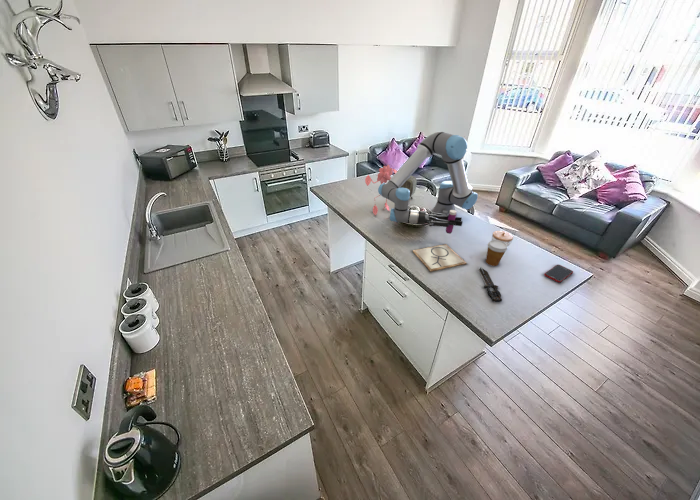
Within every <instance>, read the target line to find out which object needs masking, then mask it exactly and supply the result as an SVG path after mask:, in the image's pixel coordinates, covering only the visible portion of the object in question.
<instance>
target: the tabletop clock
mask: <svg viewBox="0 0 700 500" xmlns="http://www.w3.org/2000/svg"><path fill="white" fill-rule="evenodd" d="M417 181H418V180H417V177H415V176H413V175H411V176H410V177H409V178H408V179H407V180H406V182H405V183H404V184H403V185H402V186H401V187H400V188H407V189H409V191H410V199H411V200H413V199H414V197H413V195H414V194H415V193H416V190H417V183H418V182H417Z"/></svg>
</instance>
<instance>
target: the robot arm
mask: <svg viewBox="0 0 700 500" xmlns="http://www.w3.org/2000/svg"><path fill="white" fill-rule="evenodd" d="M467 149H468V141H467V140H466V138H465V137H463V136H461V135H459V134H453V133H449V132H445V131H435V132H433V133H430V134H429V135H428V136H426V137H424V139H423V140H422V141H420V142H419V144H418V145H417V149H416V150H415V151H414V152H413V153H412V154H411V155H410V156H409V157H408V158H407V160H406V161H405V162H404V163H403V164H402V165H401V167H400V168H399V169H398V170H397V172H396V174H395V173H394V174H393V176H392V177H391V179H390V180H387V182H386V183H384V182H383V183H382V184H381V183H380V185H379V186H378V188H377V192H378V195H380V196H382V197H383V198H385V199H386V198H387V200H388V201H390V202H392V203H394V207H392V208H390V211H389V212H390V213H389V220H390V221H391V222H394V223H404V224H405V223H406V224H411V225H416V224H417V225H425V224H428V225H429V227H442V228H446V227H449V225H454V226H455V227H456V226H457V227H462V226H463V219H462V217H459V216H456V217H455V220H450V221H448V217H449V212H450V210H455V211H456V208H455V207H460V208H461V209H464V210H470V209H472V207H474V205H475V204H476V203H477V200H478V197H479V196H478V193H477V192H475V191H473V187H472V185H471V184H469V182H468V181H469V180H468V178H467V174H466V168H465V164H464V160H463V159H464V157H465V155H466V154H467ZM434 154H437V155H440V156H441V159H442V162H443V163H444V164H446V166H447V169H448V170H447V171H448V173H449V176H450V180H444V181H442V182H440V184H439V187H438V194H437V201H436V203H435V205H434V206H433V208H432V211H429V213H427V211H425V210H415V209H409V204H410V203H409V202H410V199H411V197H410V191H409V189H407V188H400V187H401V186H402V185H403V184H404V183H405V182H406V180H407V179H408V178H409V177H410V176H413V174H414V173H415V172H416V171H417V170H418V168H419V167H420V166H421V165H422V164H423V163H424V162H425V160H426V159H427V158H430V157H432V156H433V155H434Z"/></svg>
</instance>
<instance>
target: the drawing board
mask: <svg viewBox="0 0 700 500" xmlns="http://www.w3.org/2000/svg"><path fill="white" fill-rule="evenodd" d="M412 253H413V254H414V255H415V256H416V258H417V259H418V260H419V261H420V262H421V263H422V265H424V266H425V267H426V269H427V270H428V271H429V272H430V273H432V272H437V271H442V270H446V269H451V268H455V267H460V266H464V265H465V266H466V265H467V264H468V263H467V261H465V260H464V259H463V258H462V257H461V256H460V255H459V254H457V252H455V251H454V250H453V249H452V248H451V247H450V246H449V245H448V244H447V243H445V244H439V245H434V246H428V247H423V248H418V249H413V250H412Z"/></svg>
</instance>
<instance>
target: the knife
mask: <svg viewBox="0 0 700 500" xmlns="http://www.w3.org/2000/svg"><path fill="white" fill-rule="evenodd" d="M478 272H479V274H480V277H481V279H482V280H483V283H484V287H483V289H486V293H487V294H488V297H489V298H490V299H491V301H492V302H495V303H500V302H502V301H503V298H502V294H501V292H500V290H499V285H496V284H494V282H493V279H492V278H491V276H490V274H489V272H488V271H487V270H486V269H485V268H482V267H479V268H478ZM490 288H492V289H493V290H491V289H490Z"/></svg>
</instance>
